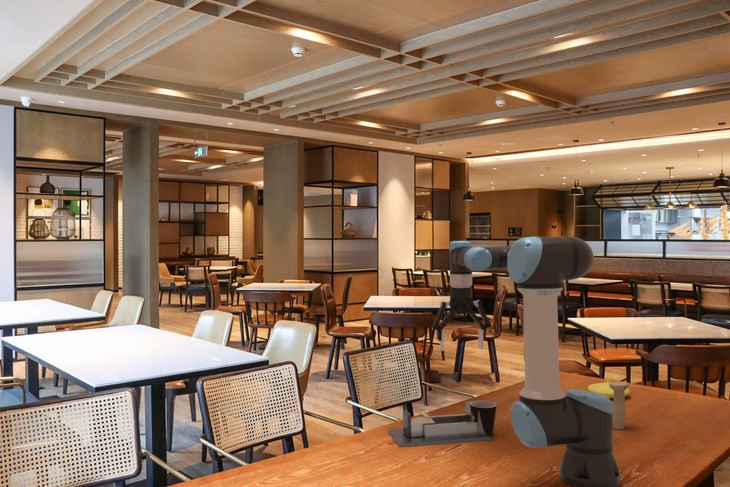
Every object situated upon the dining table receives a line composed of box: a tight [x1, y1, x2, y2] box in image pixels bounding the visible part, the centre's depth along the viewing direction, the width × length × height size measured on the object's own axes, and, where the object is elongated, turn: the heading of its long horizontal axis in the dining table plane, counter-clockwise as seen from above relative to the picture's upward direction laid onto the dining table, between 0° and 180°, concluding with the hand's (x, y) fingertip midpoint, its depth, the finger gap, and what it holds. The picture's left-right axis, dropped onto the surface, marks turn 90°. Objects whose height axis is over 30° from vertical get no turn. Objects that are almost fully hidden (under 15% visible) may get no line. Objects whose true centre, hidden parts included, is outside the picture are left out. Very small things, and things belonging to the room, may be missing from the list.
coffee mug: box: [470, 399, 498, 438], centre depth 204 cm, size 12×9×10 cm
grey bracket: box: [402, 409, 435, 437], centre depth 204 cm, size 11×9×7 cm
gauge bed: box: [388, 400, 492, 448], centre depth 202 cm, size 16×30×9 cm, turn 100°
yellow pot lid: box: [587, 378, 631, 399], centre depth 248 cm, size 16×16×7 cm
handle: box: [609, 381, 629, 430], centre depth 207 cm, size 5×6×15 cm
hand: (461, 349), depth 209 cm, fingers open, 13 cm apart
